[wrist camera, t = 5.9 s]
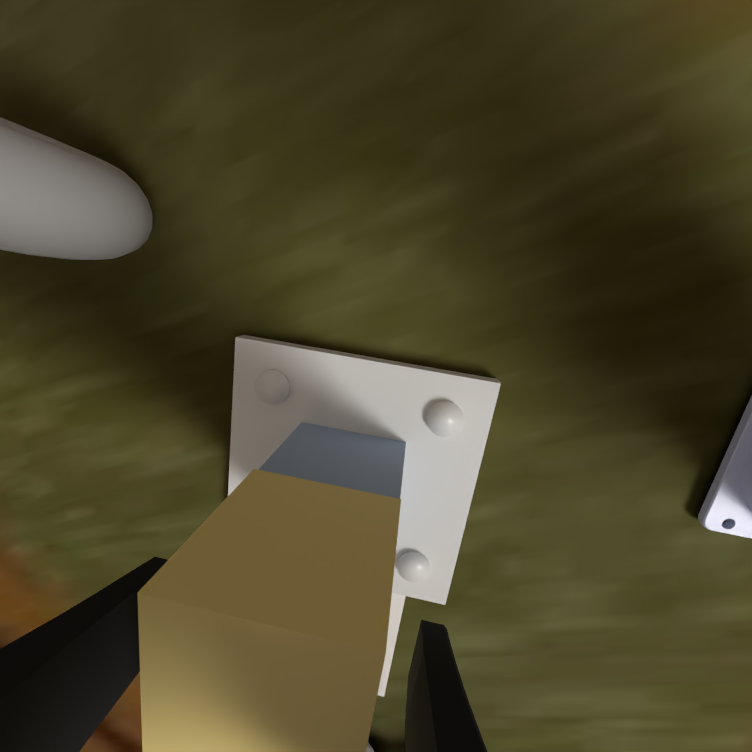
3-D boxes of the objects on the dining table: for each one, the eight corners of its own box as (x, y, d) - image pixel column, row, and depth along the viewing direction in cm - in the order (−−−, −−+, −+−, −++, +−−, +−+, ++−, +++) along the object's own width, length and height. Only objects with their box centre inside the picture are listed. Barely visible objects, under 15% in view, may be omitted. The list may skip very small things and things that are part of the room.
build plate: (497, 378, 16) (502, 385, 15) (444, 592, 19) (445, 610, 18) (244, 334, 17) (232, 337, 16) (232, 543, 20) (221, 558, 19)
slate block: (406, 442, 16) (399, 506, 11) (389, 533, 18) (376, 625, 13) (301, 421, 17) (253, 475, 12) (292, 512, 18) (244, 594, 13)
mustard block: (401, 499, 11) (385, 653, 7) (378, 620, 13) (351, 823, 8) (253, 468, 12) (137, 592, 7) (246, 588, 13) (143, 763, 8)
